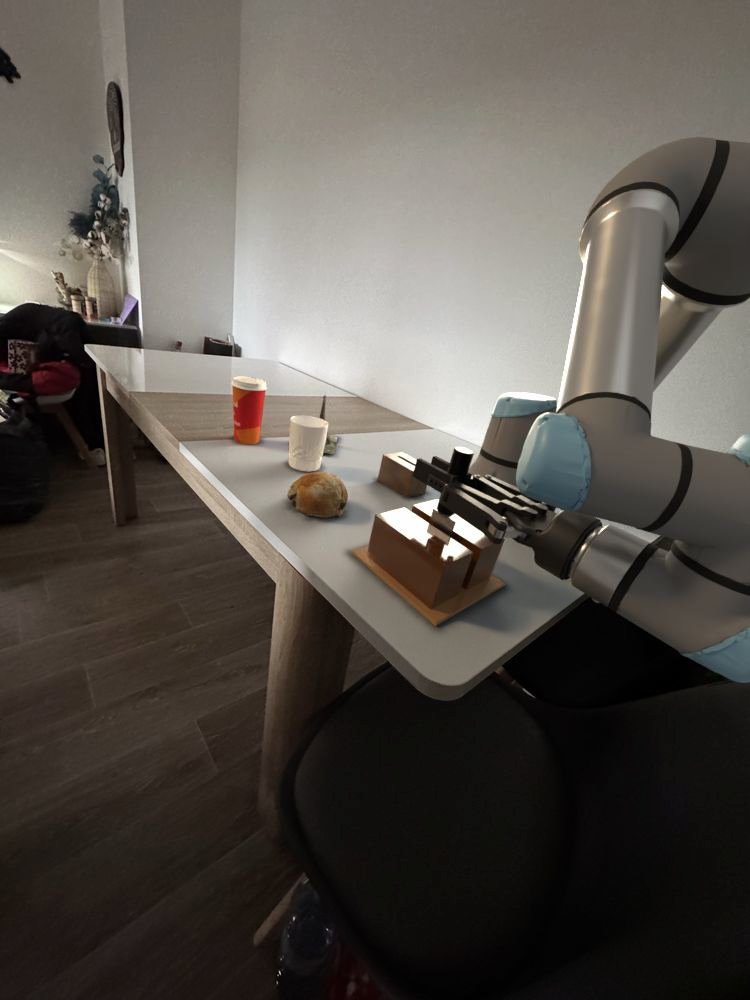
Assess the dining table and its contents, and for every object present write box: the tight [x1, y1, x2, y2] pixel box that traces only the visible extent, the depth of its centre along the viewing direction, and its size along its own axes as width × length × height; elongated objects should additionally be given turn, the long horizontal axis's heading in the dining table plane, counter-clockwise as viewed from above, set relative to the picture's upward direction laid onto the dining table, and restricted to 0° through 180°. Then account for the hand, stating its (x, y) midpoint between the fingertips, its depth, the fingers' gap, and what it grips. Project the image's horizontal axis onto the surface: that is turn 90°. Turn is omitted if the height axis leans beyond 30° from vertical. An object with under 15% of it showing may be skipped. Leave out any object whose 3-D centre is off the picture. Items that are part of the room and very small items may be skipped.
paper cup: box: [230, 375, 268, 445], centre depth 89 cm, size 8×8×14 cm
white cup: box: [288, 414, 330, 473], centre depth 83 cm, size 8×8×10 cm
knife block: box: [377, 451, 428, 499], centre depth 84 cm, size 9×6×6 cm, turn 41°
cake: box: [351, 498, 506, 627], centre depth 57 cm, size 17×16×8 cm
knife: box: [429, 446, 475, 537], centre depth 54 cm, size 4×3×19 cm, turn 41°
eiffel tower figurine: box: [318, 391, 338, 455], centre depth 96 cm, size 15×10×13 cm
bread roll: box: [286, 471, 349, 519], centre depth 69 cm, size 10×10×8 cm
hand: (424, 466), depth 56 cm, fingers open, 3 cm apart
